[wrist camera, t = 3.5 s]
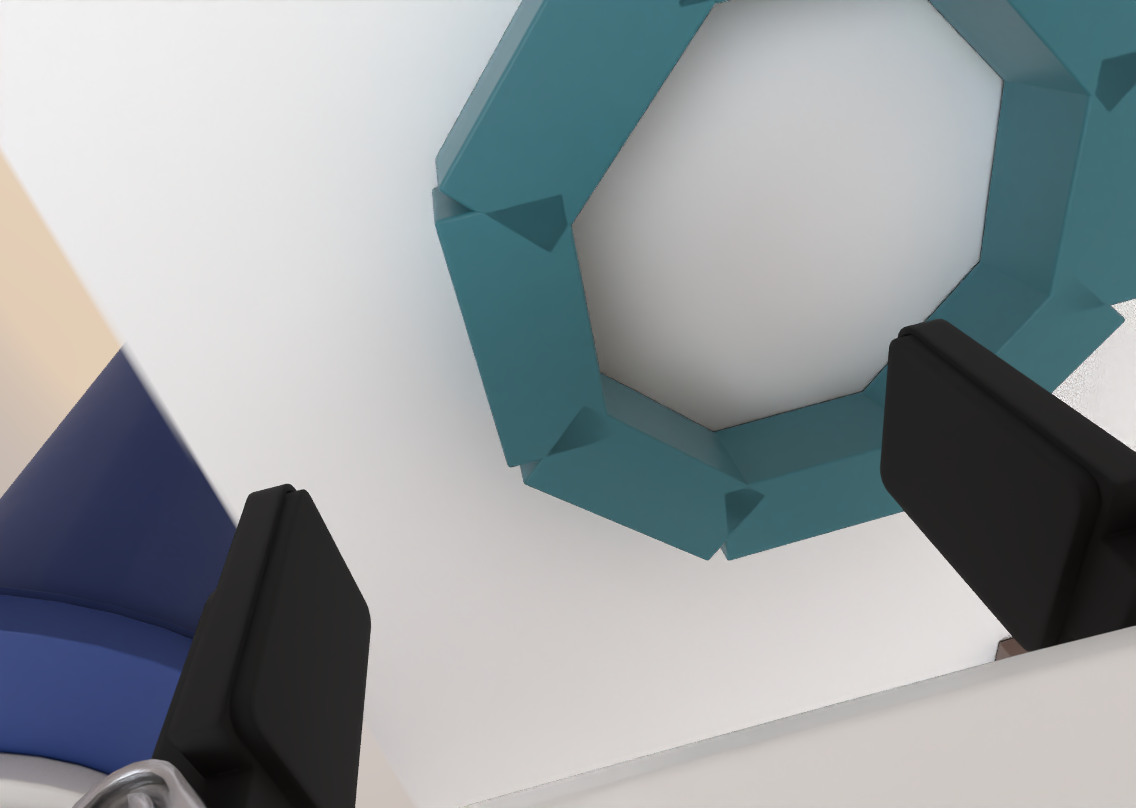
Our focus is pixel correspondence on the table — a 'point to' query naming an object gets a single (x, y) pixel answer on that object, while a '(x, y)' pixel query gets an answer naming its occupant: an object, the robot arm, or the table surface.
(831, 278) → the table surface
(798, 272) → the table surface
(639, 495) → the ring
